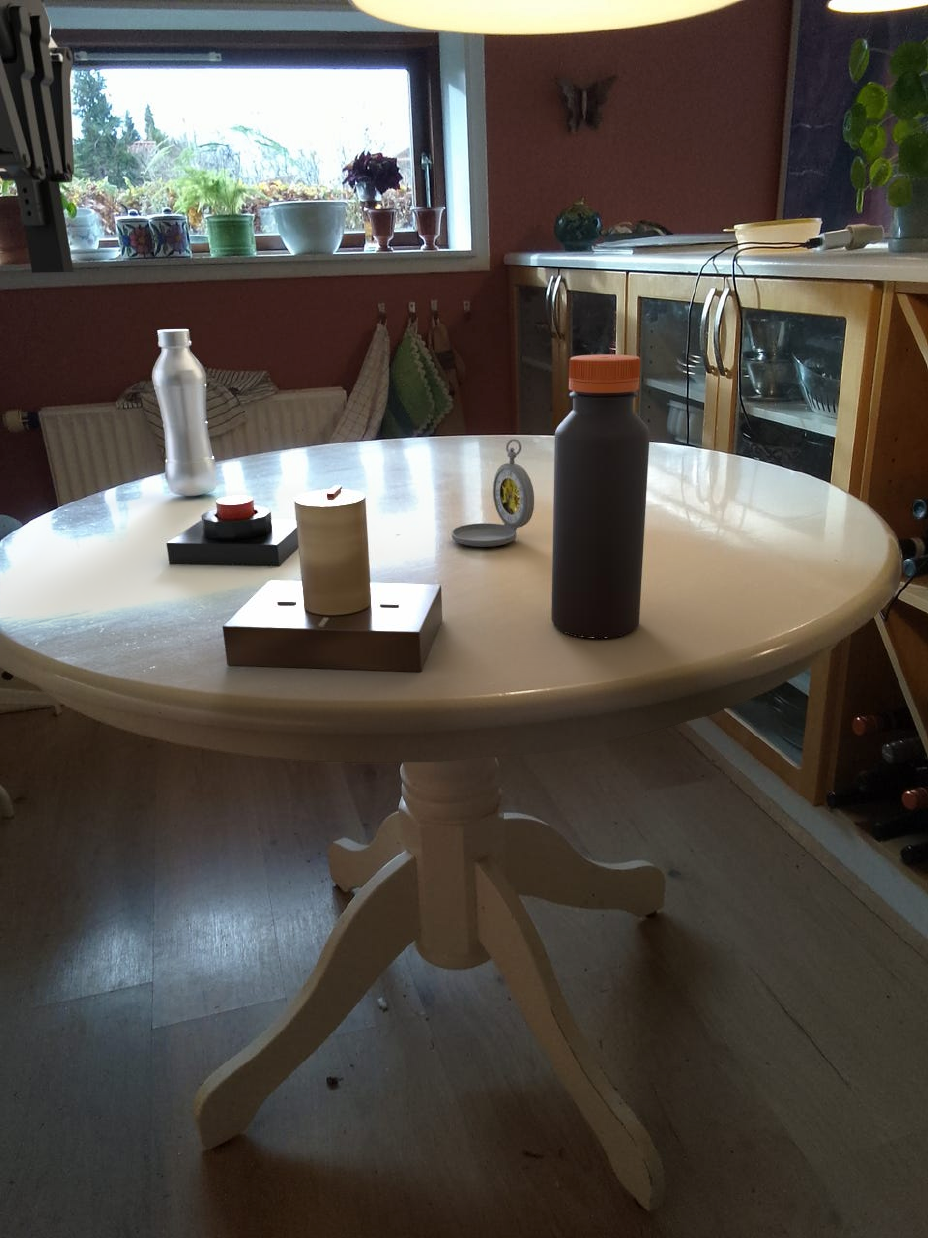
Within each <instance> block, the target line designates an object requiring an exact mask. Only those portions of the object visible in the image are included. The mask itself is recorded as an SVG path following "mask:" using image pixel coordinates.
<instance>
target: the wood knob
mask: <svg viewBox="0 0 928 1238" xmlns="http://www.w3.org/2000/svg"><path fill="white" fill-rule="evenodd" d="M293 502H294V514H295V520H296V526H297V537H298V557H299V558H298V559H299V569H300V581H302V592H303V604H304V608H305V609H306V610H307V611H309V612H311V613H315V614H320V615H344V614H350V613H355V612H358V611H361V610H363V609H365V608H367V607H368V606H370V604H371V602H372V598H371V583H372V582H371V567H370V566H371V565H370V551H369V533H368V517H367V516H368V515H367V501H366V494H364V493H363V492H360V491H358V490H350V489H343V486H342V485H333V486H332V487H331V488H330V489H322V490H314V491H309V492H305V493H302V494H299V495H297V496H295V498H294V500H293Z"/></svg>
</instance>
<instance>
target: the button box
mask: <svg viewBox="0 0 928 1238" xmlns="http://www.w3.org/2000/svg"><path fill="white" fill-rule="evenodd" d="M254 509H255V515H254V516H250V517H247V518H239V519H221V518H218V516H217V508H214V509H210V510H207V511H206V512H204V513H203V514H201V515H200V516H201V520H200V521H198V522H197V523H195V524H193V525H192V526H190V527H188V528H187V529H185V530H184V531H182V532H180V534H178V535H176V536H175V537H173V538H172V539H171V540H168V541H167V542H166V549H167V557H168V564H169V565H183V566H185V565H186V566H187V565H188V566H227V567H228V566H230V567H231V566H233V567H234V566H236V567H241V566H242V567H276V568H277V567H280V566H282V565H283V564H284V563H285V562H286V561H287V560H288V559H289V558H290V557H291V556H292V555H293V554H294V553H295V552H296V551H297V550H299V548H298V537H297V526H296V519H272V511H270V510H269V508H267V507H265V506H260V505H254Z"/></svg>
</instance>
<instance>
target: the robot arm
mask: <svg viewBox="0 0 928 1238" xmlns="http://www.w3.org/2000/svg"><path fill="white" fill-rule="evenodd" d="M45 5H46V4H45V1H44V0H0V169H3V170H1V171H0V179H1V180H2V181H4V182H12V181H13V182H14V183H15V187H16V193H17V199H18V204H19V210H20V217H21V220H22V224H23V230H24V235H25V241H26V246H27V252H28V258H29V264H30V269H31V273H32V274H33V273H35V274H36V273H38V274H39V273H40V274H41V273H74V266H73V265H74V264H73V260H72V259H73V258H72V254H71V247H70V242H69V235H68V229H67V223H66V217H65V212H64V205H63V199H62V191H61V187H60V185H61V183H72V181H73V176H74V174H75V162H74V161H75V160H74V138H73V119H72V115H73V114H72V96H71V76H72V69H73V63H74V56H73V52H72V50H71V49H70V47H68V46H58V45H57V43H56V42H55V40H54V38H53V37H52V36H51V34H52V33H51V31H52V26H51V20H50V17H49V14H48V12H47V9H46V6H45Z"/></svg>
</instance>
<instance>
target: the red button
mask: <svg viewBox="0 0 928 1238" xmlns="http://www.w3.org/2000/svg"><path fill="white" fill-rule="evenodd" d="M215 506H216V508H215V509H217V516H218V518H221V519H239V518H247V517H250V516H254V515H255V509H254V506H255V501H254V498H253V497H251V496H248V495H232V496H225V497H221V498H219V499H216V501H215Z"/></svg>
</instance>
